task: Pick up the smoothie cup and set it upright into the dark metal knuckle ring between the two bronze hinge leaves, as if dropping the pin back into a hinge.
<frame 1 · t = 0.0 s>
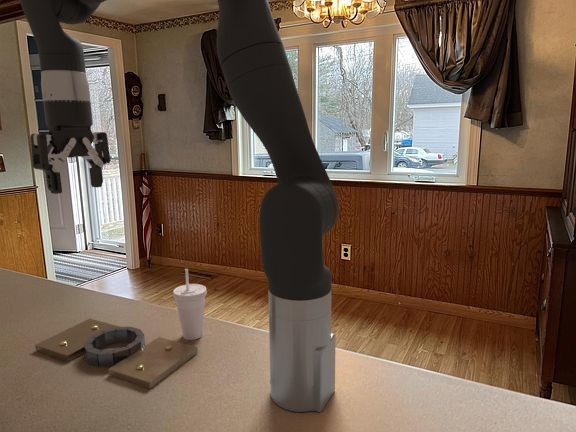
hand: (77, 190, 79), 29 cm above the table, fingers open, 8 cm apart
smoothie: (192, 336, 84), on the table
hinge base: (115, 351, 78), on the table
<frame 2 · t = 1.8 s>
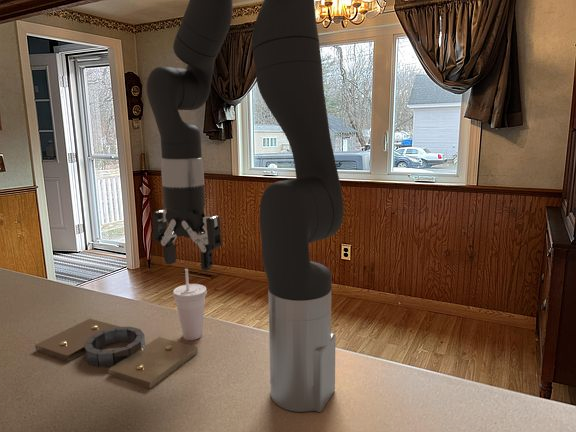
hand: (188, 266, 81), 14 cm above the table, fingers open, 8 cm apart
nothing on the table moved.
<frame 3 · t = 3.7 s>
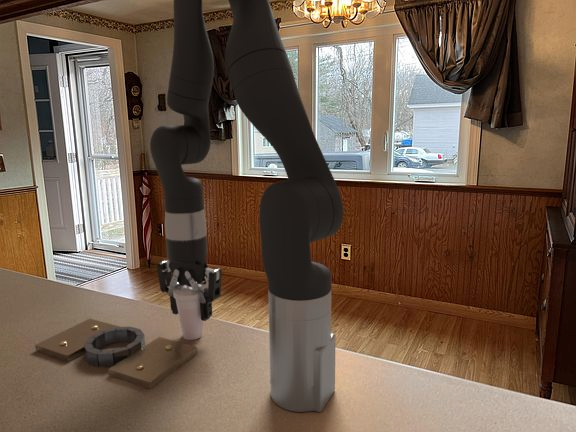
hand: (191, 315, 83), 4 cm above the table, fingers closed on smoothie, 6 cm apart
smoothie: (192, 336, 84), on the table, touching gripper
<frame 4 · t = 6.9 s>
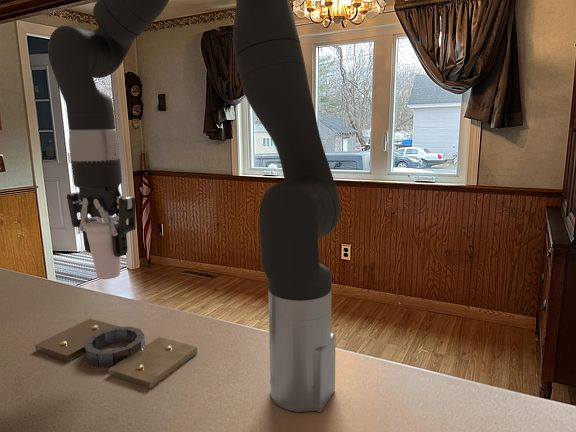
hand: (106, 253, 74), 19 cm above the table, fingers closed on smoothie, 6 cm apart
smoothie: (108, 276, 75), point 15 cm above the table, touching gripper
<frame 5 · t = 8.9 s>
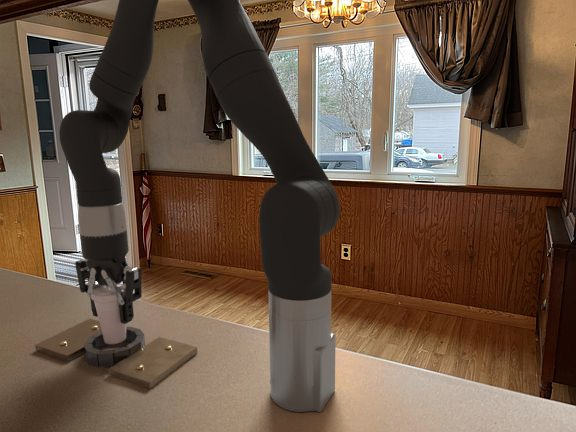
hand: (112, 318, 77), 7 cm above the table, fingers closed on smoothie, 6 cm apart
smoothie: (115, 340, 78), point 2 cm above the table, touching gripper
when the fingers open (5 cm above the table, at t = 10.3 s): smoothie stays where it is, resting in hinge base.
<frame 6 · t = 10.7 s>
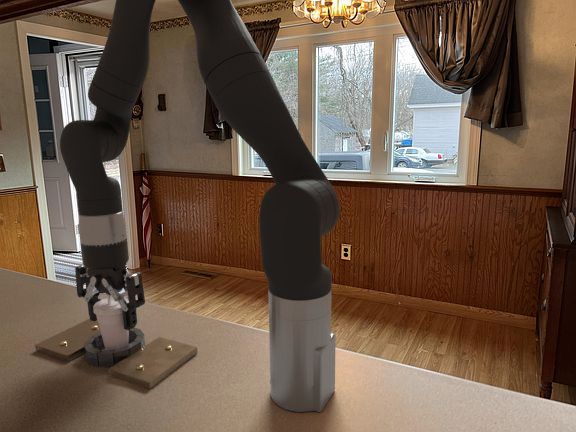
hand: (113, 323, 77), 6 cm above the table, fingers open, 8 cm apart
smoothie: (117, 353, 78), resting in hinge base
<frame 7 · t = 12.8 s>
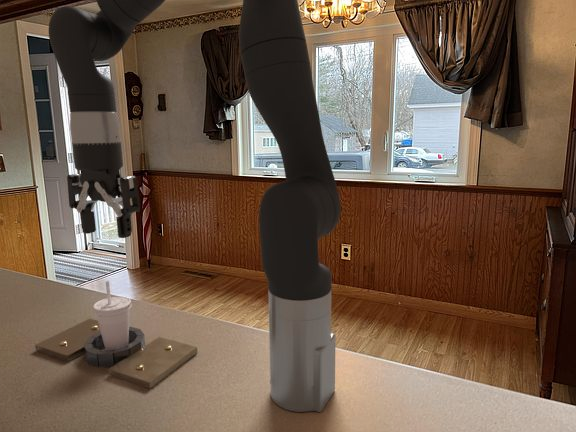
hand: (106, 234, 74), 22 cm above the table, fingers open, 8 cm apart
nothing on the table moved.
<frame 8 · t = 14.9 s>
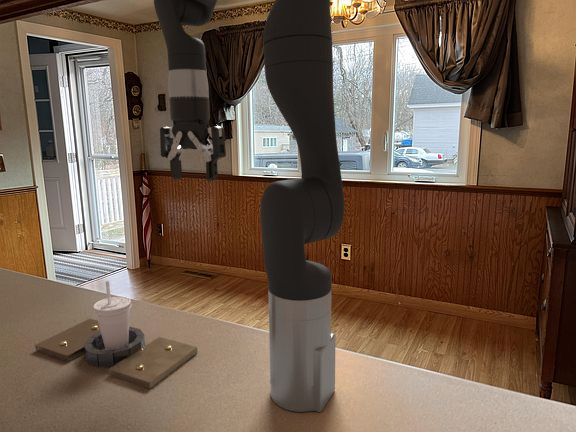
hand: (194, 179, 85), 30 cm above the table, fingers open, 8 cm apart
nothing on the table moved.
at the end: smoothie 0.3 cm from the hinge base (horizontally); smoothie tilted 0°; the gripper is holding nothing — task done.
